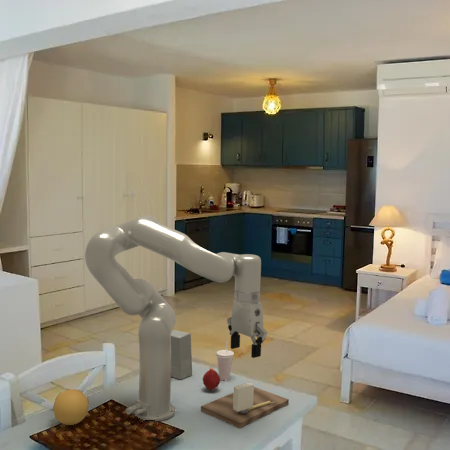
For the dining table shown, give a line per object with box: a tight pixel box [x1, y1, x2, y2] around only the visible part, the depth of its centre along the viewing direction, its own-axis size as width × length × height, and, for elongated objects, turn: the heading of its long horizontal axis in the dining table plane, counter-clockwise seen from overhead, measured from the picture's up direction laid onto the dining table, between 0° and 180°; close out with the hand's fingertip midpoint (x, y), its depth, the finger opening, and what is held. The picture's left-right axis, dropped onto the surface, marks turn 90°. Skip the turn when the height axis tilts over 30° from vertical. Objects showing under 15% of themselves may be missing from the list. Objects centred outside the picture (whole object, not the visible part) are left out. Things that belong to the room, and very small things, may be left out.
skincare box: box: [171, 329, 193, 380], centre depth 198 cm, size 8×7×16 cm
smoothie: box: [215, 340, 235, 381], centre depth 196 cm, size 6×6×14 cm
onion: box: [202, 367, 221, 391], centre depth 186 cm, size 6×6×8 cm
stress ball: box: [52, 388, 90, 426], centre depth 158 cm, size 10×10×10 cm
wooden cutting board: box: [200, 386, 290, 429], centre depth 173 cm, size 24×16×2 cm, turn 138°
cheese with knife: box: [233, 382, 271, 414], centre depth 168 cm, size 14×3×8 cm, turn 128°
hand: (245, 352), depth 164 cm, fingers open, 9 cm apart
